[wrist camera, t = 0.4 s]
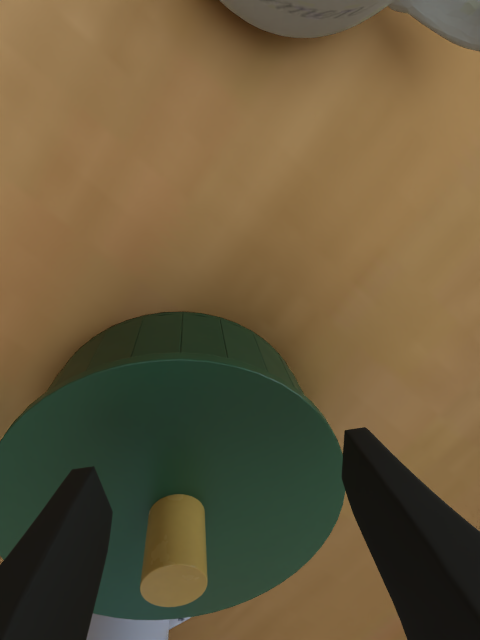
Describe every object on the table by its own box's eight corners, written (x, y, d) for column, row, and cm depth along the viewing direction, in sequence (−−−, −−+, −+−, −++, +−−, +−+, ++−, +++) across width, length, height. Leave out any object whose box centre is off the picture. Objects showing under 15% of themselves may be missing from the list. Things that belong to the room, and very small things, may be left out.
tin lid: (150, 632, 22) (141, 735, 18) (-92, 479, 15) (-191, 588, 11) (385, 502, 20) (434, 585, 16) (222, 267, 14) (235, 308, 10)
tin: (158, 544, 26) (150, 637, 21) (-13, 409, 20) (-83, 492, 15) (339, 439, 25) (379, 511, 19) (211, 256, 18) (219, 289, 13)
